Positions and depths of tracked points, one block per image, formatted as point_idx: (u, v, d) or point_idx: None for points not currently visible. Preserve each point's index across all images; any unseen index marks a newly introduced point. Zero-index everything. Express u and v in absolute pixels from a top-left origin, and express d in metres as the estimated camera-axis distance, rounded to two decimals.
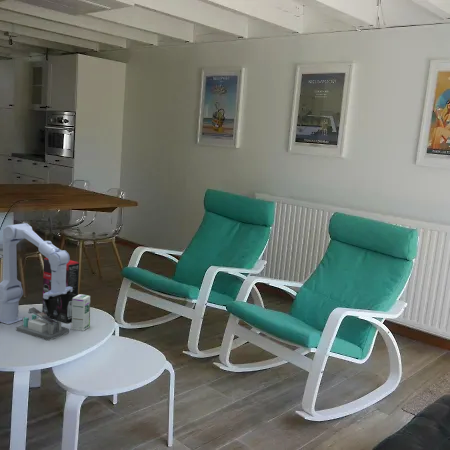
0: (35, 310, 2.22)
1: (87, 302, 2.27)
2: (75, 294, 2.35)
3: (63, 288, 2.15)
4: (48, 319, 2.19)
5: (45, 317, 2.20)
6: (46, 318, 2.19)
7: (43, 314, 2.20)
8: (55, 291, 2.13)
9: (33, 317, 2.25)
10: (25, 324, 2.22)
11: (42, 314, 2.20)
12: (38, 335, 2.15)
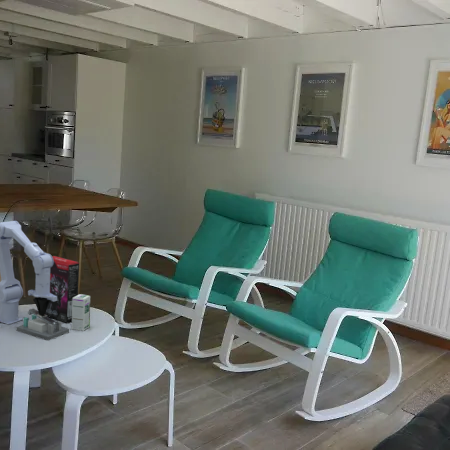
0: (35, 311, 2.22)
1: (87, 302, 2.27)
2: (75, 294, 2.35)
3: (37, 291, 2.17)
4: (48, 319, 2.19)
5: (45, 317, 2.20)
6: (46, 318, 2.19)
7: None
8: None
9: (33, 317, 2.25)
10: (25, 324, 2.22)
11: None
12: (38, 335, 2.15)
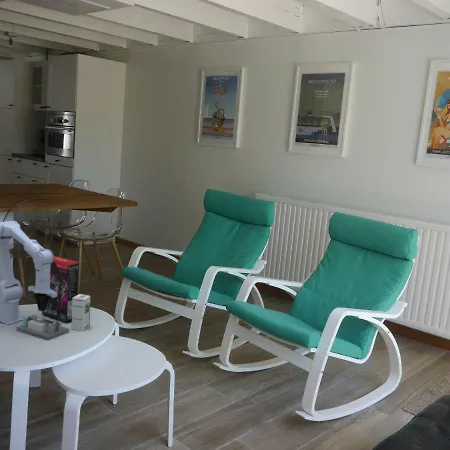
0: (34, 317, 2.23)
1: (87, 302, 2.27)
2: (75, 294, 2.35)
3: (37, 287, 2.16)
4: (48, 321, 2.19)
5: (44, 320, 2.20)
6: (45, 321, 2.19)
7: (42, 318, 2.21)
8: None
9: None
10: (25, 324, 2.22)
11: (41, 318, 2.21)
12: (38, 335, 2.15)
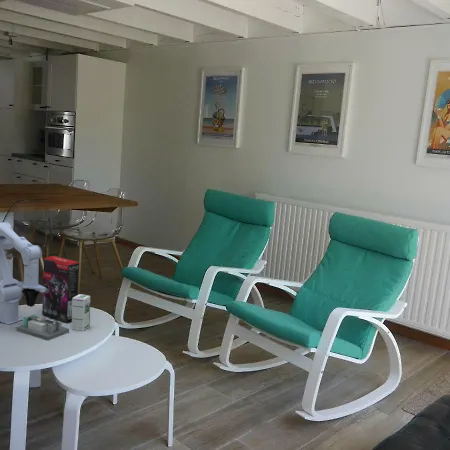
0: (34, 317, 2.23)
1: (87, 302, 2.27)
2: (75, 294, 2.35)
3: (25, 282, 2.18)
4: (48, 321, 2.19)
5: (44, 320, 2.20)
6: (45, 321, 2.19)
7: (42, 318, 2.21)
8: None
9: None
10: (25, 324, 2.22)
11: (41, 318, 2.21)
12: (38, 335, 2.15)
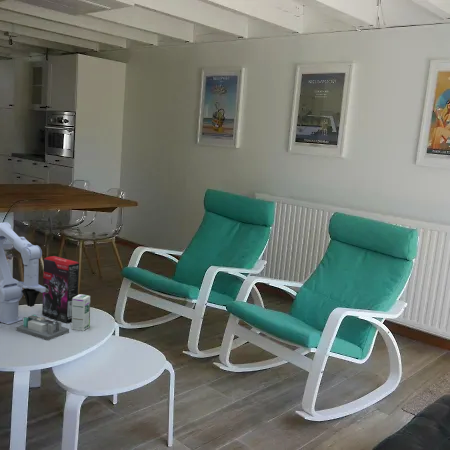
0: (34, 317, 2.23)
1: (87, 302, 2.27)
2: (75, 294, 2.35)
3: (25, 282, 2.18)
4: (48, 321, 2.19)
5: (44, 320, 2.20)
6: (45, 321, 2.19)
7: (42, 318, 2.21)
8: None
9: None
10: (25, 324, 2.22)
11: (41, 318, 2.21)
12: (38, 335, 2.15)
